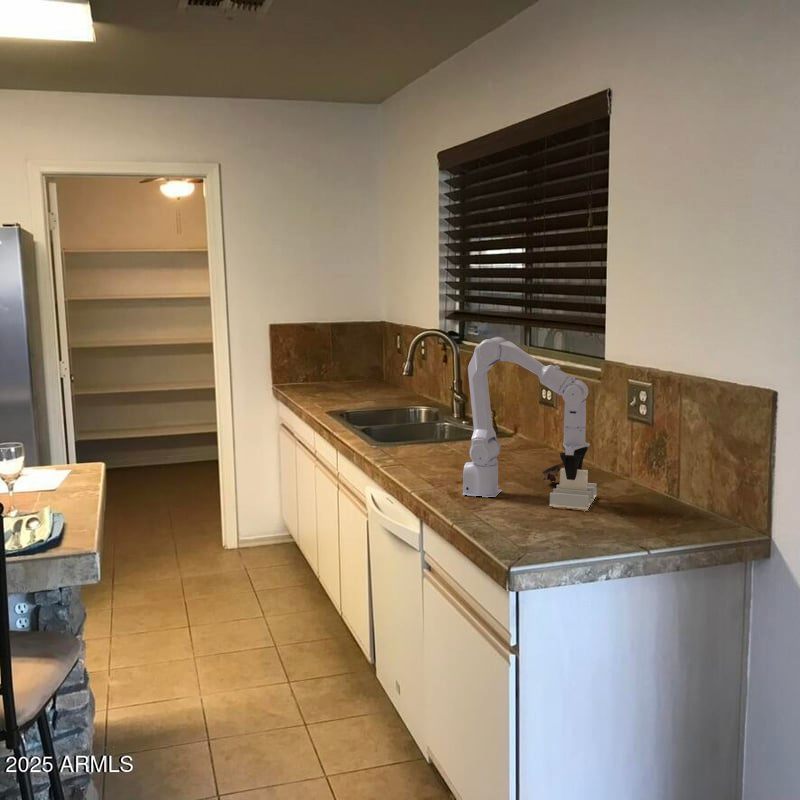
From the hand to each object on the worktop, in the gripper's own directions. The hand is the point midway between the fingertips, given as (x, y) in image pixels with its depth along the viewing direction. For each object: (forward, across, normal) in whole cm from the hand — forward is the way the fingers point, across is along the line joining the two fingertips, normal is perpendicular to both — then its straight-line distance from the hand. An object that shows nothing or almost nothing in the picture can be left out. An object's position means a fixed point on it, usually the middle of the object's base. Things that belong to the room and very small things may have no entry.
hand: (573, 476), depth 233 cm
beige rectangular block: (+6, 0, 0) cm, 6 cm away
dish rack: (+7, 0, 0) cm, 7 cm away
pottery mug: (+8, +17, +6) cm, 20 cm away
